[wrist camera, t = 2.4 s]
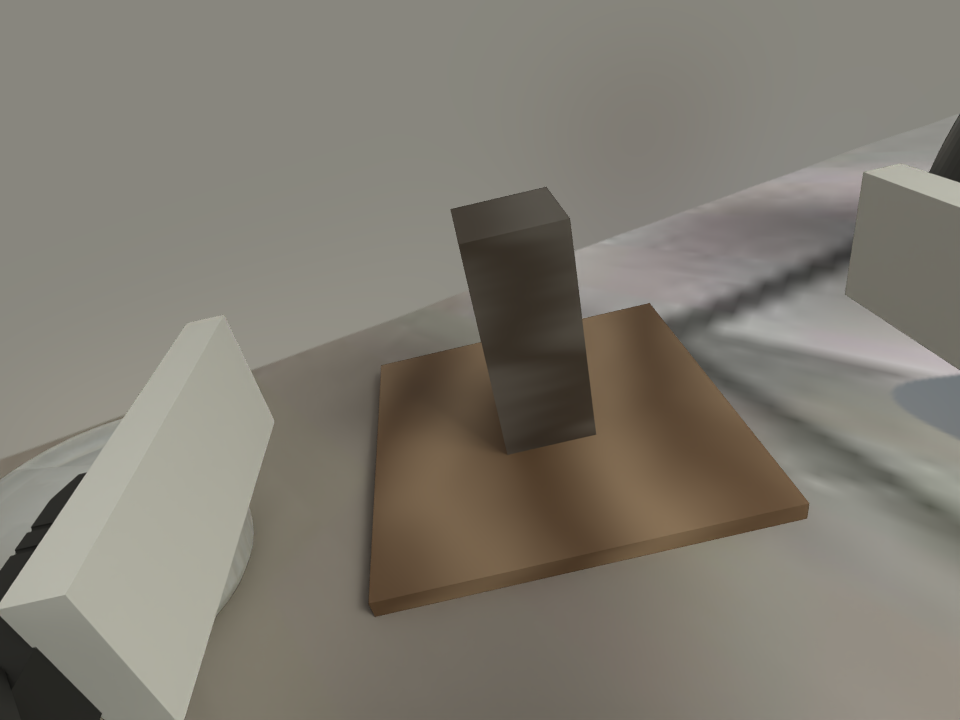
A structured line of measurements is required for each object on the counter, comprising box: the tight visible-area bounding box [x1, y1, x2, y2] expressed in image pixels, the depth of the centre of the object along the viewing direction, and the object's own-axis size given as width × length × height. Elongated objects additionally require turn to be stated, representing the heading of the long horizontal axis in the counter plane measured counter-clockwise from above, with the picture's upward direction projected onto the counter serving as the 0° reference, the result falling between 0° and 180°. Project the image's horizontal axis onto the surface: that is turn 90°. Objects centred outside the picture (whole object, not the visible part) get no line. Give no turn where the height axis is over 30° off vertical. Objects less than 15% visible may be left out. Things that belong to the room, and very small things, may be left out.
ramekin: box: [0, 419, 254, 617], centre depth 24 cm, size 11×11×5 cm
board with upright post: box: [368, 187, 809, 617], centre depth 26 cm, size 16×16×11 cm
